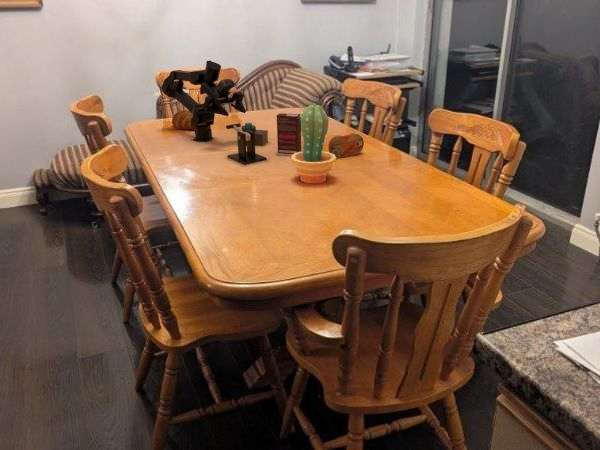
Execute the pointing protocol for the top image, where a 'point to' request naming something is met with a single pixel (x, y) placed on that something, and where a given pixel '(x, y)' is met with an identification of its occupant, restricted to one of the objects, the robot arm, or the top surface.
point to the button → (248, 125)
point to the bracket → (249, 155)
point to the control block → (257, 135)
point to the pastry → (182, 120)
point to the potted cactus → (313, 146)
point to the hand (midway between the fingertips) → (236, 113)
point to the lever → (235, 126)
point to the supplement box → (288, 133)
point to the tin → (346, 145)
